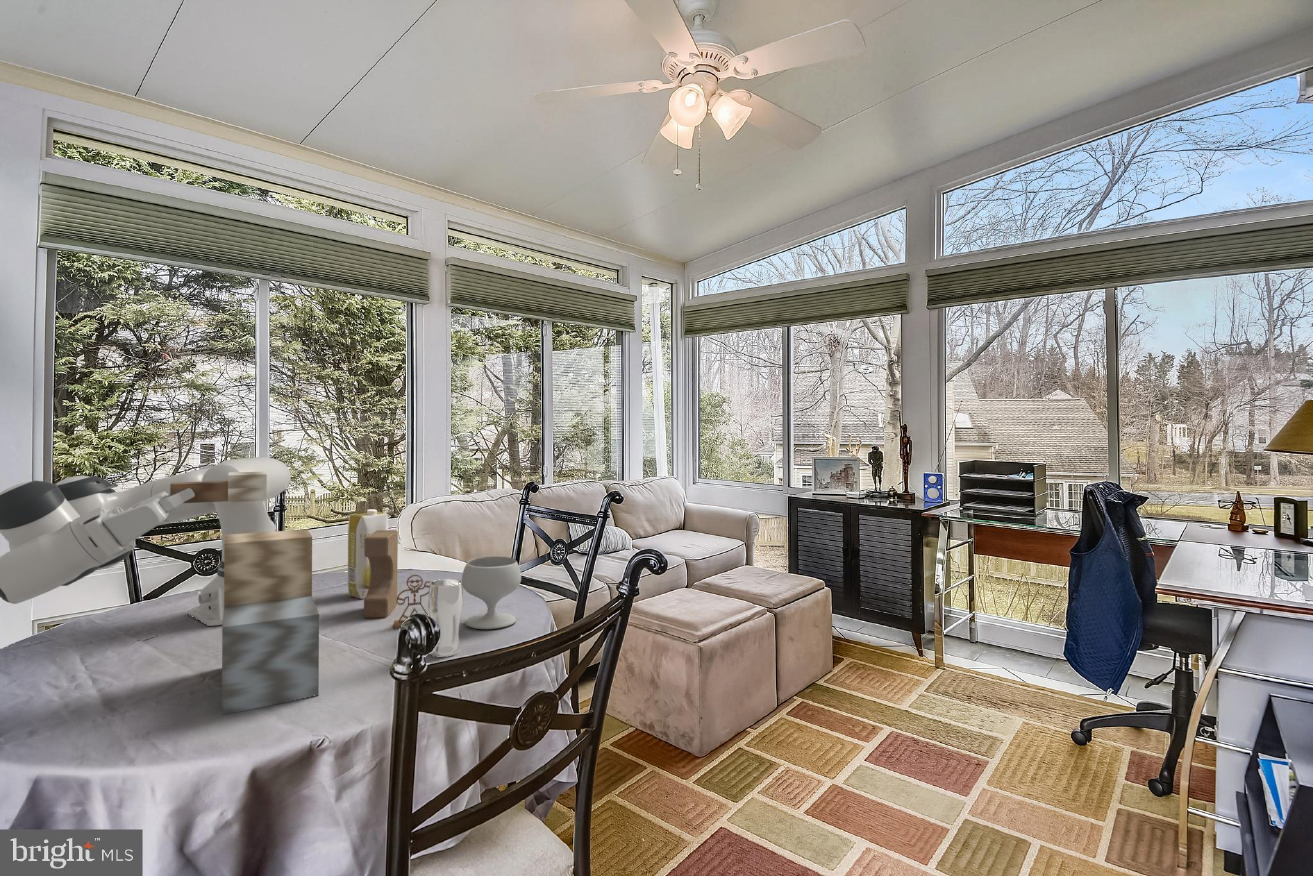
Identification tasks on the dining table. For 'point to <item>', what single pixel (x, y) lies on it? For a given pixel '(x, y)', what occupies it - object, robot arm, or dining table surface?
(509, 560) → the chalice
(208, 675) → the dining table surface
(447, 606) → the beer glass
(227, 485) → the brown rectangular block
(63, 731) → the dining table surface
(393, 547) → the decorative block
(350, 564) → the juice carton
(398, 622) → the gingerbread man figurine
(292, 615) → the step stand
